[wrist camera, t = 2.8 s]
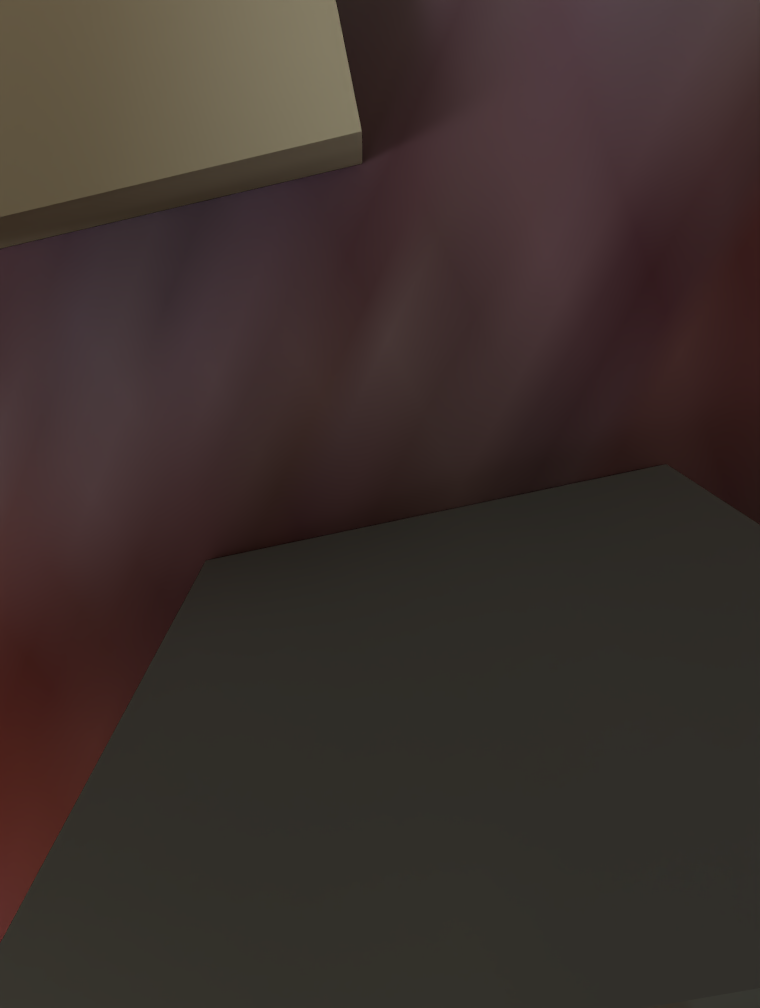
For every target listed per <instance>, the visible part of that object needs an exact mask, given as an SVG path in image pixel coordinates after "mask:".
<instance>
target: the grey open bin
mask: <svg viewBox="0 0 760 1008" xmlns="http://www.w3.org/2000/svg"><path fill="white" fill-rule="evenodd" d="M0 1008H760V525H759V524H758V523H756V522H755V521H753V520H752V519H750V518H749V517H747V516H746V515H744V514H742V513H741V512H739V511H738V510H736V509H735V508H733V507H732V506H730V505H729V504H727V503H726V502H724V501H722V500H721V499H719V498H718V497H716V496H715V495H713V494H712V493H710V492H709V491H707V490H706V489H704V488H702V487H701V486H699V485H698V484H696V483H695V482H693V481H692V480H690V479H689V478H687V477H686V476H684V475H682V474H681V473H679V472H678V471H676V470H675V469H673V468H672V467H670V466H669V465H667V464H665V465H660V466H655V467H650V468H646V469H641V470H636V471H631V472H626V473H622V474H617V475H612V476H607V477H603V478H598V479H593V480H588V481H583V482H579V483H574V484H569V485H564V486H560V487H555V488H550V489H545V490H540V491H536V492H531V493H526V494H521V495H517V496H512V497H507V498H502V499H497V500H493V501H488V502H483V503H478V504H474V505H469V506H464V507H459V508H454V509H450V510H445V511H440V512H435V513H431V514H426V515H421V516H416V517H411V518H407V519H402V520H397V521H392V522H388V523H383V524H378V525H373V526H368V527H364V528H359V529H354V530H349V531H345V532H340V533H335V534H330V535H325V536H321V537H316V538H311V539H306V540H302V541H297V542H292V543H287V544H283V545H278V546H273V547H268V548H263V549H259V550H254V551H249V552H244V553H240V554H235V555H230V556H225V557H220V558H216V559H211V560H206V561H205V563H204V565H203V567H202V569H201V570H200V572H199V574H198V576H197V578H196V580H195V582H194V583H193V585H192V587H191V589H190V591H189V593H188V595H187V596H186V598H185V600H184V602H183V604H182V606H181V608H180V610H179V611H178V613H177V615H176V617H175V619H174V621H173V623H172V624H171V626H170V628H169V630H168V632H167V634H166V636H165V637H164V639H163V641H162V643H161V645H160V647H159V649H158V650H157V652H156V654H155V656H154V658H153V660H152V662H151V664H150V665H149V667H148V669H147V671H146V673H145V675H144V677H143V678H142V680H141V682H140V684H139V686H138V688H137V690H136V691H135V693H134V695H133V697H132V699H131V701H130V703H129V704H128V706H127V708H126V710H125V712H124V714H123V716H122V718H121V719H120V721H119V723H118V725H117V727H116V729H115V731H114V732H113V734H112V736H111V738H110V740H109V742H108V744H107V745H106V747H105V749H104V751H103V753H102V755H101V757H100V758H99V760H98V762H97V764H96V766H95V768H94V770H93V772H92V773H91V775H90V777H89V779H88V781H87V783H86V785H85V786H84V788H83V790H82V792H81V794H80V796H79V798H78V799H77V801H76V803H75V805H74V807H73V809H72V811H71V812H70V814H69V816H68V818H67V820H66V822H65V824H64V826H63V827H62V829H61V831H60V833H59V835H58V837H57V839H56V840H55V842H54V844H53V846H52V848H51V850H50V852H49V853H48V855H47V857H46V859H45V861H44V863H43V865H42V866H41V868H40V870H39V872H38V874H37V876H36V878H35V880H34V881H33V883H32V885H31V887H30V889H29V891H28V893H27V894H26V896H25V898H24V900H23V902H22V904H21V906H20V907H19V909H18V911H17V913H16V915H15V917H14V919H13V920H12V922H11V924H10V926H9V928H8V930H7V932H6V934H5V935H4V937H3V939H2V941H1V943H0Z"/></svg>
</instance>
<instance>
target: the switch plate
mask: <svg viewBox="0 0 760 1008" xmlns="http://www.w3.org/2000/svg"><path fill="white" fill-rule="evenodd" d="M358 164H362V130H361V125H360V120H359V115H358V110H357V105H356V100H355V95H354V90H353V85H352V80H351V75H350V70H349V65H348V60H347V54H346V49H345V44H344V39H343V34H342V29H341V24H340V19H339V14H338V9H337V4H336V0H0V249H1V248H5V247H9V246H14V245H18V244H22V243H27V242H31V241H35V240H39V239H44V238H48V237H52V236H56V235H61V234H65V233H69V232H73V231H78V230H82V229H86V228H90V227H95V226H99V225H103V224H107V223H112V222H116V221H120V220H124V219H129V218H133V217H137V216H141V215H146V214H150V213H154V212H158V211H163V210H167V209H171V208H175V207H180V206H184V205H188V204H192V203H197V202H201V201H205V200H209V199H214V198H218V197H222V196H226V195H231V194H235V193H239V192H243V191H248V190H252V189H256V188H260V187H265V186H269V185H273V184H277V183H282V182H286V181H290V180H294V179H299V178H303V177H307V176H311V175H316V174H320V173H324V172H328V171H333V170H337V169H341V168H345V167H350V166H354V165H358Z"/></svg>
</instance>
